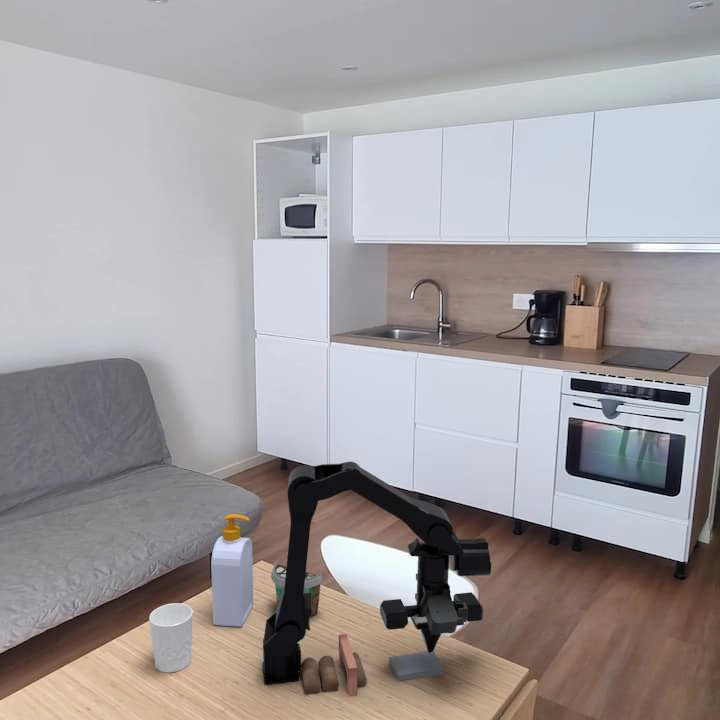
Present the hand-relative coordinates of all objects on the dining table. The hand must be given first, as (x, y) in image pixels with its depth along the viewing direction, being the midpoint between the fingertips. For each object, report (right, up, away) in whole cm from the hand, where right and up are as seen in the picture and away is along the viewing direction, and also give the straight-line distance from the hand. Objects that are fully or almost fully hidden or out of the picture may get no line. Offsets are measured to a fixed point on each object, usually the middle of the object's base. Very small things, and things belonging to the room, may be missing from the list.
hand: (429, 651), depth 124 cm
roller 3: (-14, -1, -3) cm, 14 cm away
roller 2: (-20, -2, -4) cm, 21 cm away
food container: (-28, 0, +18) cm, 33 cm away
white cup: (-49, -3, +1) cm, 49 cm away
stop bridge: (-16, -4, -3) cm, 16 cm away
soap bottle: (-40, 0, +17) cm, 44 cm away
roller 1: (-23, -4, -4) cm, 23 cm away
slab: (-3, -4, 0) cm, 5 cm away
